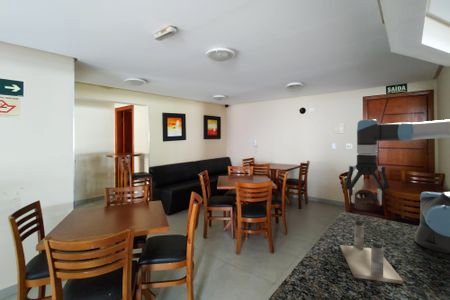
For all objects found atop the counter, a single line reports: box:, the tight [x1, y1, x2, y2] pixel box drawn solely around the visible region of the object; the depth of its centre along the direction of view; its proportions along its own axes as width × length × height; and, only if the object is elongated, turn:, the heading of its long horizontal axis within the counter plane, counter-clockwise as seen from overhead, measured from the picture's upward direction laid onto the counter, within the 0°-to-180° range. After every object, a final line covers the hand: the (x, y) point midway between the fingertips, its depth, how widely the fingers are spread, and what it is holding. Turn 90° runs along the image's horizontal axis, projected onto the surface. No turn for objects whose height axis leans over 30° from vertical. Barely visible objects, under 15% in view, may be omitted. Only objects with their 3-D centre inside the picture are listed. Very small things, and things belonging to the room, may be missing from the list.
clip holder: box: [339, 220, 404, 285], centre depth 82 cm, size 14×22×12 cm, turn 164°
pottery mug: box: [354, 188, 381, 207], centre depth 99 cm, size 12×10×8 cm
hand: (365, 203), depth 99 cm, fingers closed on pottery mug, 10 cm apart
